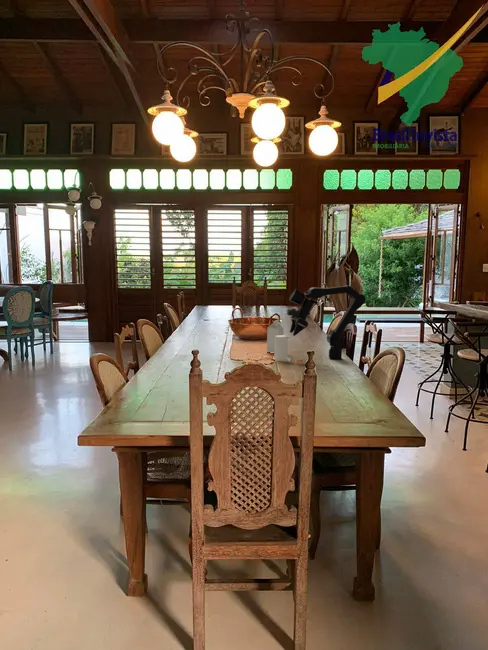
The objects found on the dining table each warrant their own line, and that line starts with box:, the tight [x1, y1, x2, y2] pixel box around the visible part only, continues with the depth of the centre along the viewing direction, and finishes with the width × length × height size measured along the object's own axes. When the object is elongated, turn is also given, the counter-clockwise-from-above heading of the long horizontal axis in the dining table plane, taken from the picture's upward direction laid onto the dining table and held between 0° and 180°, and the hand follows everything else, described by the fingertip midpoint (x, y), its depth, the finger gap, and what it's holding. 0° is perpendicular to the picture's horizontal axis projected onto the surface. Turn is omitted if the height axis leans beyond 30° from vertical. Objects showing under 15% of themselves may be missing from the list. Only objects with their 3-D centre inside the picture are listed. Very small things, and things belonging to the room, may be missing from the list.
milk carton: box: [266, 319, 285, 353], centre depth 280 cm, size 7×7×19 cm
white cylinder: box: [273, 335, 290, 362], centre depth 265 cm, size 7×7×12 cm
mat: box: [274, 356, 291, 362], centre depth 266 cm, size 10×10×1 cm
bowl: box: [295, 358, 305, 366], centre depth 256 cm, size 4×4×3 cm
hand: (292, 334), depth 268 cm, fingers open, 9 cm apart
